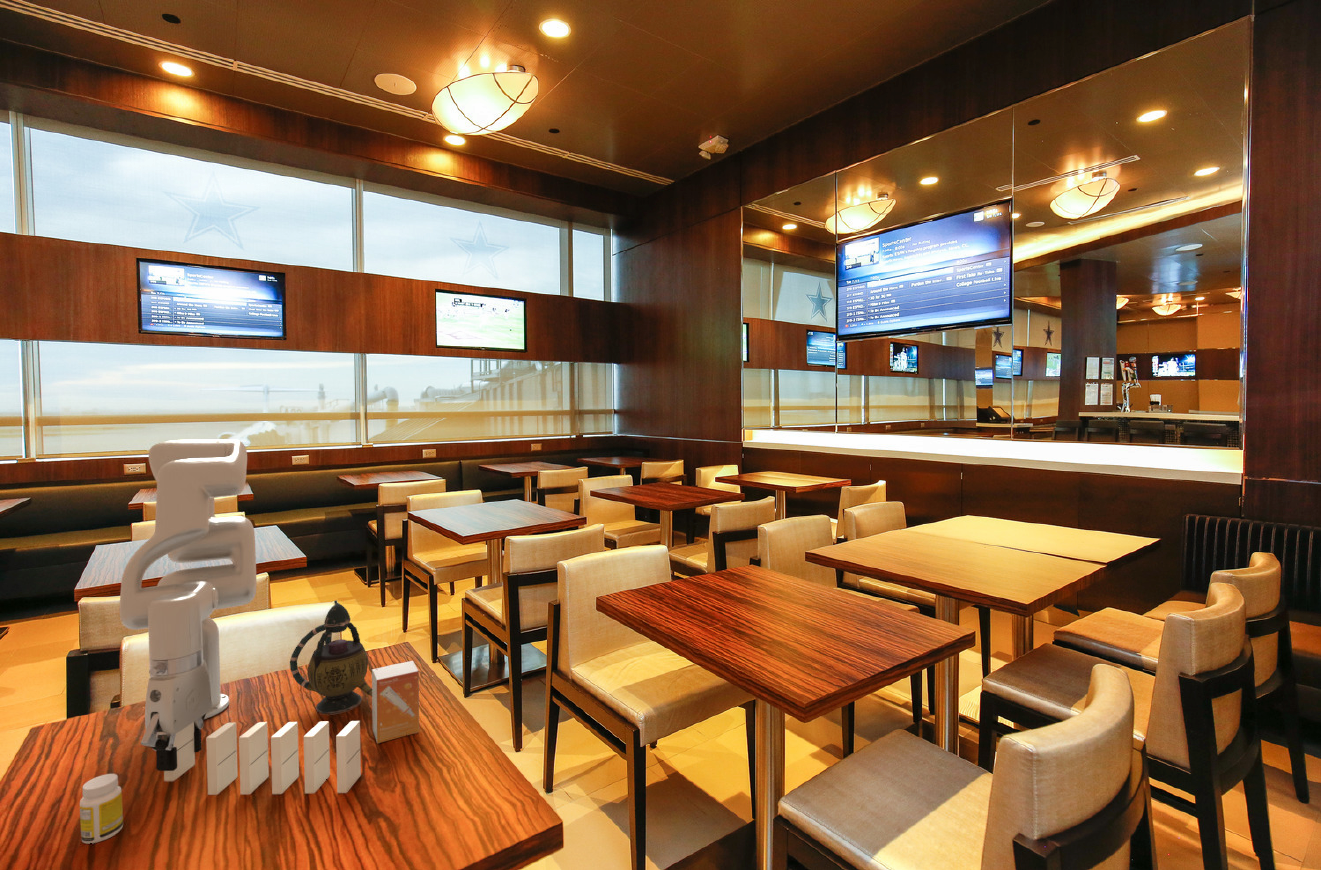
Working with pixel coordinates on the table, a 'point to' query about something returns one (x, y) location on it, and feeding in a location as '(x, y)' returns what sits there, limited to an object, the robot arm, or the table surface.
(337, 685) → the teapot
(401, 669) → the small box
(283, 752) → the domino
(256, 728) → the domino
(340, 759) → the domino
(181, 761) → the domino
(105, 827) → the supplement bottle
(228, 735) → the domino
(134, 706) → the table surface
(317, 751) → the domino
